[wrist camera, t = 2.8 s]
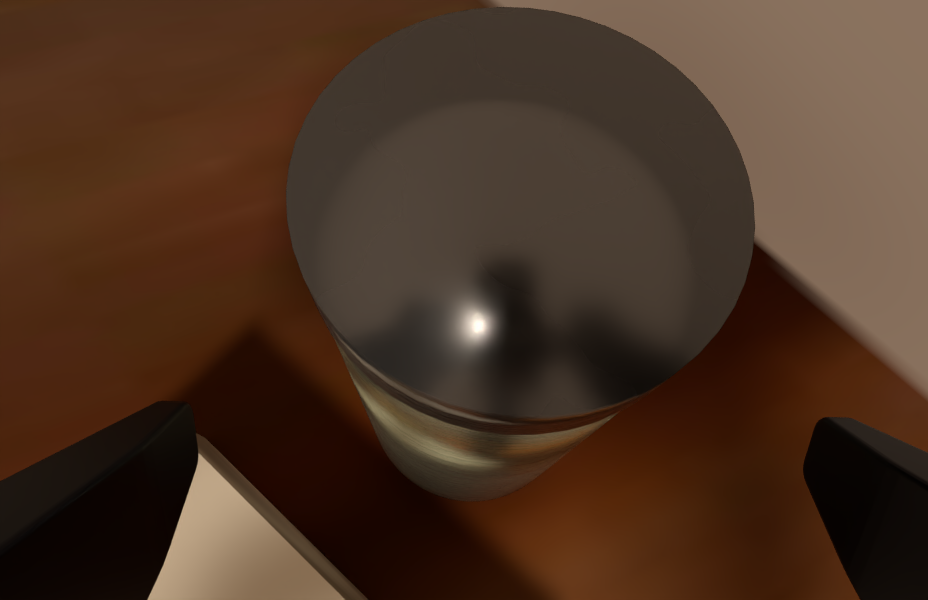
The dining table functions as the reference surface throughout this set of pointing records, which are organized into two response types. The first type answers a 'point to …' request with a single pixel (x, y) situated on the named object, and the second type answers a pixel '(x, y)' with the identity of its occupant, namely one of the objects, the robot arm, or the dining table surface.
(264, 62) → the dining table surface
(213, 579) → the base block
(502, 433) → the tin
